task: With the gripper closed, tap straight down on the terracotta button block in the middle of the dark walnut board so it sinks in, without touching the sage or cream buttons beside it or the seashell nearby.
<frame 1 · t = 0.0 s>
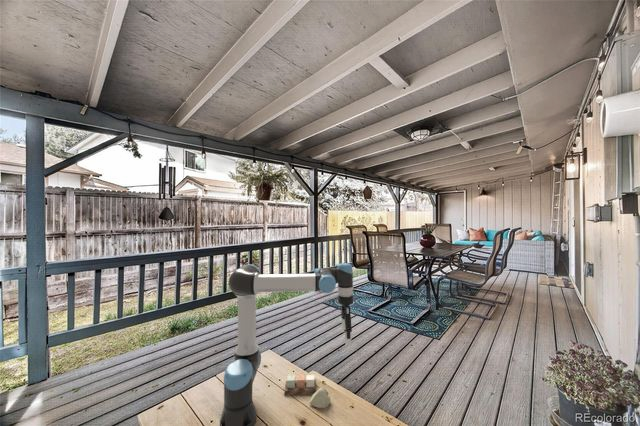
hand: (346, 338, 121), 28 cm above the table, fingers open, 13 cm apart
button sage: (291, 381, 125), point 4 cm above the table, slide at 0.0 cm
button terracotta: (300, 381, 125), point 4 cm above the table, slide at 0.0 cm
walnut board: (300, 389, 125), on the table
button cream: (310, 380, 125), point 4 cm above the table, slide at 0.0 cm
seashell: (320, 402, 116), on the table
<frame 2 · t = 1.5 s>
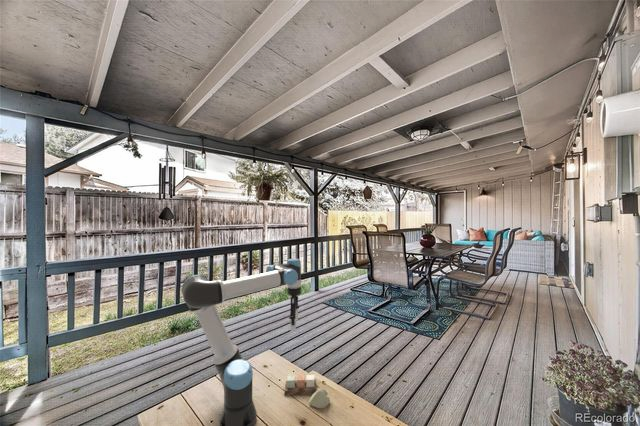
hand: (294, 325, 135), 29 cm above the table, fingers open, 13 cm apart
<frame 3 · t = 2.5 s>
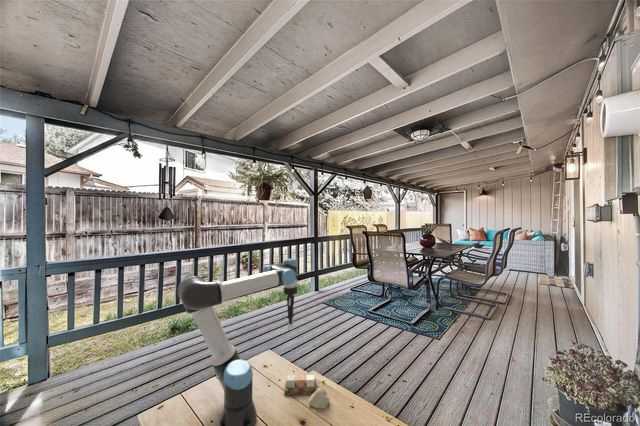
hand: (290, 328, 136), 26 cm above the table, fingers closed
nothing on the table moved.
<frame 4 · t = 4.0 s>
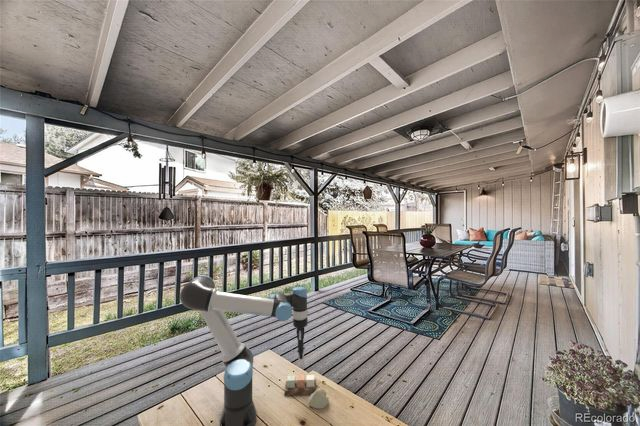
hand: (301, 363, 126), 13 cm above the table, fingers closed
nothing on the table moved.
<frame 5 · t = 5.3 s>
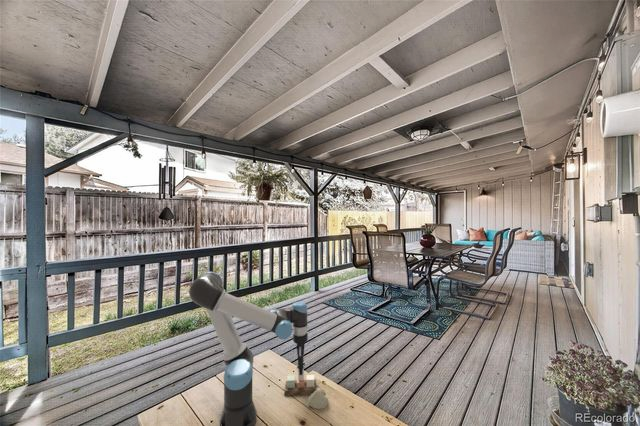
hand: (301, 379, 125), 5 cm above the table, fingers closed
button terracotta: (300, 383, 125), point 3 cm above the table, slide at 1.3 cm, touching gripper
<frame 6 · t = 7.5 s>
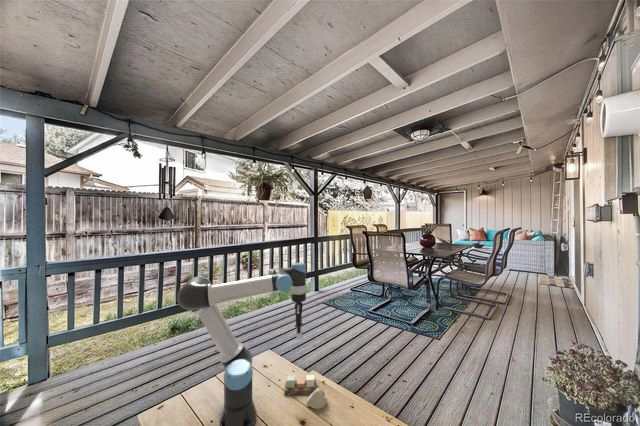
hand: (299, 338, 127), 25 cm above the table, fingers closed
button terracotta: (300, 384, 125), point 2 cm above the table, slide at 1.7 cm
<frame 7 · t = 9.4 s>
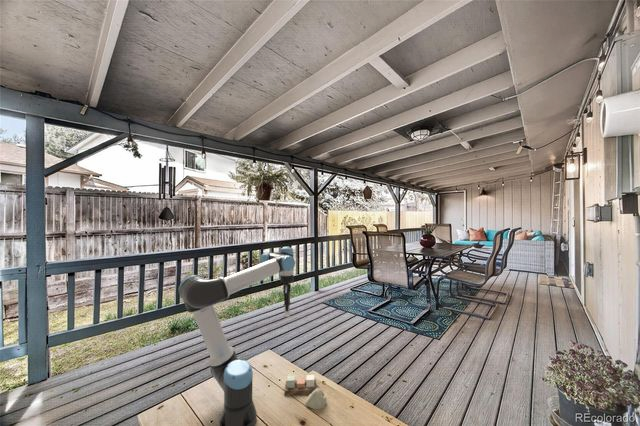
hand: (287, 316, 138), 32 cm above the table, fingers closed
at the end: button terracotta slide at 1.7 cm; button sage slide at 0.0 cm; button cream slide at 0.0 cm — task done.
